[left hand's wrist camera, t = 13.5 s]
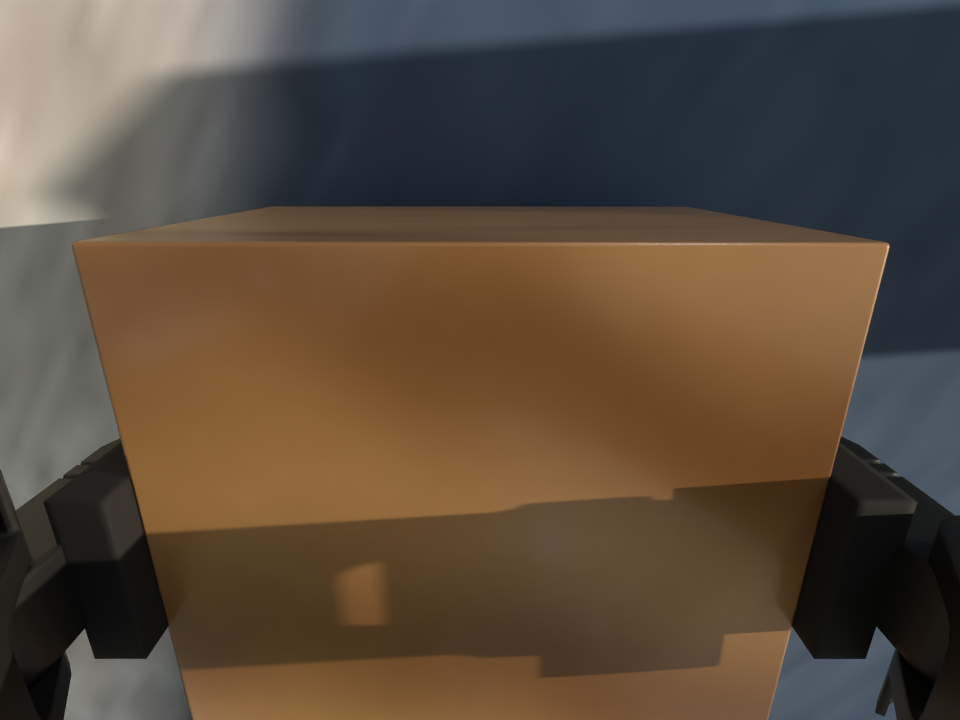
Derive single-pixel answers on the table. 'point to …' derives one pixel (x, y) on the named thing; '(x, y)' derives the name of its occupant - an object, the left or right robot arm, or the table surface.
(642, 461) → the slab
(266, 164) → the table surface
